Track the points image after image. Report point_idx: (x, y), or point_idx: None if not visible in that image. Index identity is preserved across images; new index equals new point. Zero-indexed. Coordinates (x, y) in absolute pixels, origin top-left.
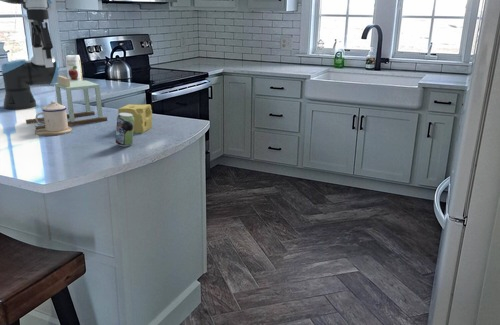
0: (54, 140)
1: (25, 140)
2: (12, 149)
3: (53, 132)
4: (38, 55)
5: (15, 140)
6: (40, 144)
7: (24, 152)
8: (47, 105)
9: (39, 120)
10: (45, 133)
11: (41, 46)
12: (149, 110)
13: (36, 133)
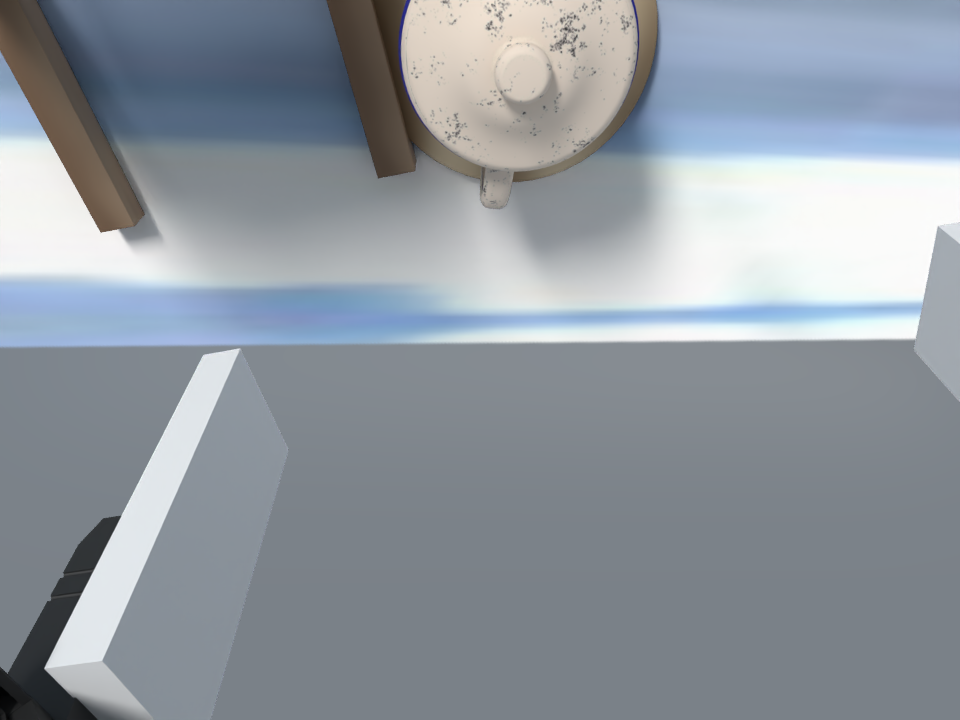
0: (799, 60)
1: (667, 239)
2: (836, 305)
3: None
4: (221, 544)
5: (629, 290)
6: (840, 159)
7: None
8: (510, 132)
9: (92, 129)
10: None
11: (1, 685)
12: None
13: (552, 172)
